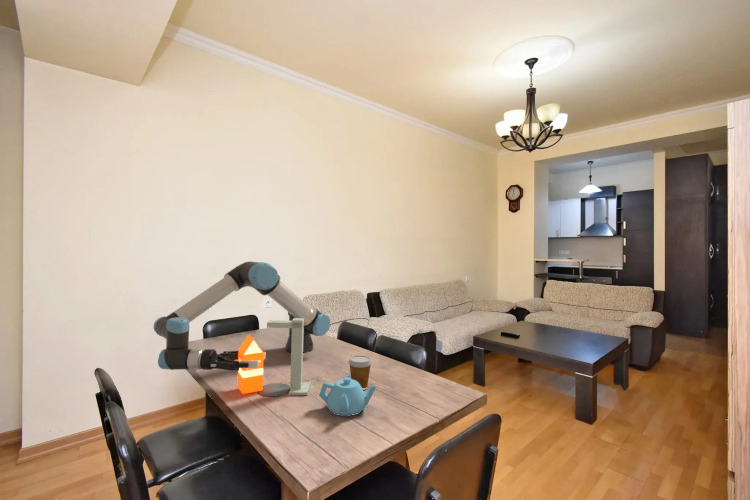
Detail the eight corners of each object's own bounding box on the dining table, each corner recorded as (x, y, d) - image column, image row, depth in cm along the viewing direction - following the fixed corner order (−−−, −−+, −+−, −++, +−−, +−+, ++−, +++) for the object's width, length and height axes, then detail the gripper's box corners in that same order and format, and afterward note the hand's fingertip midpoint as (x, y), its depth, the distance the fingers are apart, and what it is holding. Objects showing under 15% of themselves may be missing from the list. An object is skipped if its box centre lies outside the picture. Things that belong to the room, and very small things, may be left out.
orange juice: (257, 382, 141) (258, 333, 141) (263, 390, 134) (264, 338, 134) (236, 385, 137) (238, 335, 137) (241, 394, 130) (243, 340, 129)
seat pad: (254, 396, 130) (254, 395, 130) (262, 384, 142) (262, 383, 142) (286, 396, 131) (287, 395, 131) (292, 384, 143) (292, 383, 143)
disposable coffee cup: (374, 385, 144) (375, 356, 144) (366, 394, 135) (367, 363, 135) (353, 382, 147) (353, 353, 147) (343, 390, 138) (344, 360, 138)
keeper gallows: (263, 395, 131) (265, 321, 131) (269, 385, 141) (271, 316, 141) (307, 395, 132) (309, 322, 132) (310, 385, 142) (312, 316, 142)
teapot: (349, 395, 134) (350, 367, 134) (377, 409, 123) (377, 379, 123) (316, 407, 123) (317, 377, 123) (343, 423, 112) (343, 390, 112)
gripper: (214, 359, 146) (268, 359, 147) (189, 380, 123) (253, 380, 124) (215, 341, 145) (269, 342, 147) (189, 359, 123) (253, 359, 124)
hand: (261, 359), depth 136 cm, fingers closed on orange juice, 10 cm apart
